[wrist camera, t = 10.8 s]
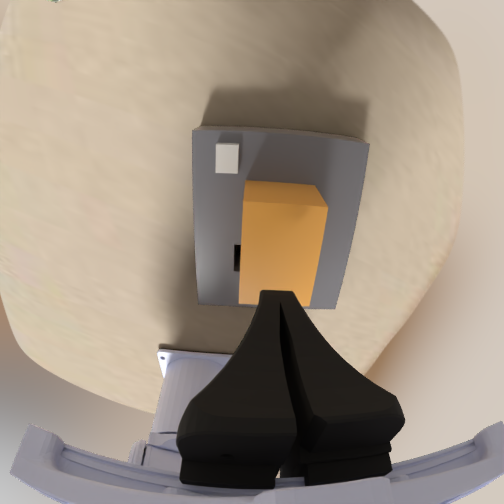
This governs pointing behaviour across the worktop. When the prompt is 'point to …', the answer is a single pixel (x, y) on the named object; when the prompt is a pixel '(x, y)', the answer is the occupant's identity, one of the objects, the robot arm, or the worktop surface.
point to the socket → (271, 170)
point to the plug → (280, 239)
